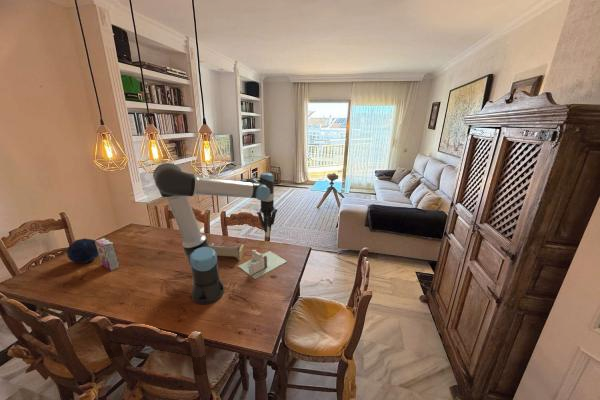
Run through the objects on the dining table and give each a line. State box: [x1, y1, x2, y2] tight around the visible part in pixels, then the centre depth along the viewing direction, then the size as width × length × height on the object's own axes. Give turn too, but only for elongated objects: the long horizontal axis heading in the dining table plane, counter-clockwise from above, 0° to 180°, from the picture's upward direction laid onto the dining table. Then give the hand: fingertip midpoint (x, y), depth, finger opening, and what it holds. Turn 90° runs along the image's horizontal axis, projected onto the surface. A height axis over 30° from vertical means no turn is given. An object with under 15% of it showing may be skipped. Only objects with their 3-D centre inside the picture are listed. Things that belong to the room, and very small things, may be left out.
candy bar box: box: [94, 237, 121, 272], centre depth 136 cm, size 11×5×16 cm, turn 59°
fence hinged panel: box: [251, 249, 264, 262], centre depth 143 cm, size 11×1×7 cm, turn 47°
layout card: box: [237, 250, 288, 280], centre depth 143 cm, size 24×17×1 cm
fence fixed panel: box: [249, 256, 267, 276], centre depth 135 cm, size 12×2×7 cm, turn 136°
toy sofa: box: [208, 242, 244, 261], centre depth 150 cm, size 21×9×10 cm, turn 87°
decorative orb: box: [66, 238, 99, 264], centre depth 142 cm, size 14×15×15 cm
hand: (267, 236), depth 145 cm, fingers closed
